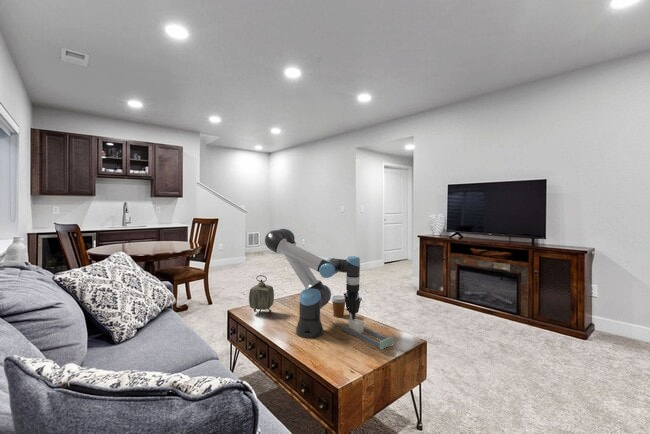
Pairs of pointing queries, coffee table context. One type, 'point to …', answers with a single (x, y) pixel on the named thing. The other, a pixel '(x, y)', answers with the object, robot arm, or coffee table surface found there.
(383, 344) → the chute
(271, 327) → the coffee table surface
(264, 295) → the tabletop clock
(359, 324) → the block
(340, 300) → the disposable coffee cup
